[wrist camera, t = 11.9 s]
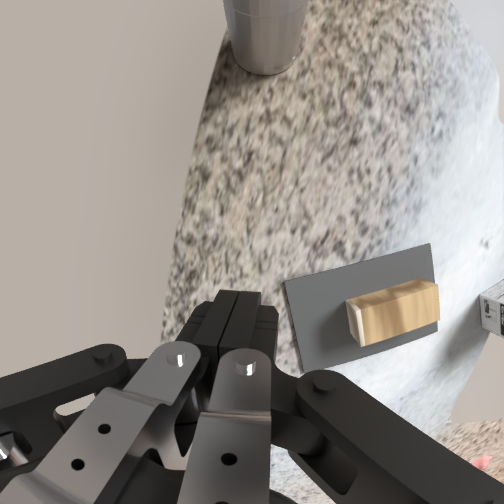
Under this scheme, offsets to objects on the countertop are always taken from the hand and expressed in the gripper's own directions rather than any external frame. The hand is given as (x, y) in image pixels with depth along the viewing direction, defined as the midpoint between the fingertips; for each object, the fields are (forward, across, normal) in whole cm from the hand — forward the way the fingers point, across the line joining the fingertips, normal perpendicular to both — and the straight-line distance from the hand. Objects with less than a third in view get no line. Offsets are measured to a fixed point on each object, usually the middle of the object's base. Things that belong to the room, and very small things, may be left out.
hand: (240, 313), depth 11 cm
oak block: (+24, -10, +15) cm, 30 cm away
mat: (+28, -14, +15) cm, 34 cm away
